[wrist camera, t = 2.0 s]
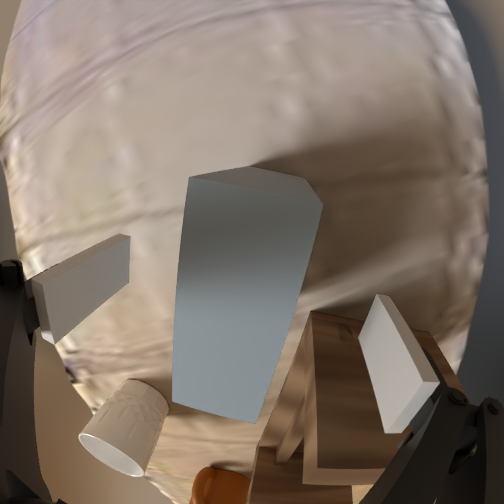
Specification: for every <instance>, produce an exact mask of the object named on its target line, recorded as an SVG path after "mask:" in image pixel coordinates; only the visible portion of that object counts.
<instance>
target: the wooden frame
mask: <svg viewBox="0 0 504 504" xmlns="http://www.w3.org/2000/svg"><path fill="white" fill-rule="evenodd" d="M364 323H365V322H364V321H359V320H353V319H348V318H343V317H338V316H333V315H328V314H323V313H318V312H313V311H310V314H309V317H308V320H307V323H306V326H305V329H304V332H303V334H302V337H301V340H300V343H299V346H298V348H297V351H296V354H295V356H294V359H293V362H292V364H291V367H290V370H289V372H288V375H287V377H286V380H285V382H284V385H283V387H282V390H281V392H280V395H279V397H278V400H277V402H276V404H275V407H274V409H273V411H272V414H271V416H270V418H269V421H268V423H267V425H266V428H265V430H264V432H263V434H262V437H261V439H260V441H259V443H258V445H257V448H256V454H255V460H254V465H253V471H252V476H251V482H250V487H249V492H248V497H247V502H246V504H353V501H352V485H370V484H375V483H376V481H377V480H378V479H379V477H380V476H381V475H382V473H383V472H384V470H385V469H386V468H387V466H388V465H389V463H390V462H391V460H392V459H393V457H394V456H395V454H396V453H397V451H398V450H399V448H397V446H398V445H399V444H400V443H401V442H402V441H403V440H404V439H405V438H406V437H407V435H408V434H409V433H410V432H411V431H412V429H411V426H410V423H409V424H408V426H407V427H406V428H405V429H404V430H403V432H402V433H385V432H384V428H383V424H382V419H381V415H380V411H379V408H378V404H377V400H376V396H375V393H374V389H373V385H372V382H371V378H370V375H369V371H368V368H367V365H366V361H365V358H364V355H363V351H362V348H361V345H360V342H359V339H358V337H359V335H360V332H361V330H362V328H363V326H364ZM411 332H412V333H413V335H414V337H415V338H416V340H417V342H418V344H419V345H420V347H423V348H424V349H425V350H426V351H427V352H429V353H430V355H431V356H432V358H433V360H434V363H436V365H437V367H438V369H439V370H440V372H441V374H442V376H443V378H444V379H445V381H446V383H447V385H448V387H452V388H456V389H458V390H460V391H461V392H462V393H464V394H465V392H464V390H463V388H462V386H461V385H460V383H459V381H458V379H457V377H456V375H455V374H454V372H453V370H452V368H451V367H450V365H449V363H448V362H447V360H446V358H445V356H444V355H443V353H442V352H441V350H440V348H439V347H438V345H437V343H436V342H435V340H434V339H433V337H432V335H431V334H430V332H423V331H417V330H411ZM465 396H466V397H467V395H466V394H465ZM467 399H468V398H467ZM468 401H469V399H468ZM469 404H471V403H470V401H469ZM475 451H476V449H475V450H474V451H473V454H474V453H475Z"/></svg>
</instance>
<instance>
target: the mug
mask: <svg viewBox="0 0 504 504" xmlns="http://www.w3.org/2000/svg"><path fill="white" fill-rule="evenodd" d="M249 487H250V480H249V479H248V478H246V477H244V476H242V475H240V474H237V473H234V472H230V471H225V470H219V469H214V468H212V467H205V468H203V469H202V470H201V471H200V472H199V473H198V474H197V476H196V478H195V480H194V483H193V488H192V497H191V500H190V503H189V504H246V502H247V497H248V492H249Z"/></svg>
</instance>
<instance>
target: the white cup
mask: <svg viewBox="0 0 504 504" xmlns="http://www.w3.org/2000/svg"><path fill="white" fill-rule="evenodd" d="M168 411H169V407H168V403H167V401H166V399H165V398H164V397H163V396H162V395H161V393H160V392H158V391H157V390H156V389H154V388H153V387H151V386H150V385H148V384H146V383H143V382H141V381H139V380H130V379H128V380H126V381H124V382H122V383H121V384H120V385H119V387H118V388H117V389H116V390H115V392H114V393H113V394H112V395H111V396H110V397H109V398H108V399H107V400H106V402H105V403H104V404H103V405H102V406H101V407H100V409H99V410H98V411H97V412H96V414H95V415H94V416H93V418H92V419H91V420H90V422H89V423H88V424H87V425H86V427H85V428H84V429H83V430H82V432H81V433H80V434H79V440H80V442H81V444H82V445H83V446H84V447H85V448H86V449H87V450H88V451H89V452H90V453H91V454H92V455H93V456H94V457H96V458H97V459H98V460H100V461H101V462H103V463H104V464H106V465H108V466H109V467H111V468H113V469H115V470H117V471H119V472H121V473H124V474H127V475H130V476H135V477H141V476H143V475H144V474H145V471H146V469H147V466H148V464H149V461H150V459H151V456H152V454H153V451H154V449H155V446H156V444H157V441H158V439H159V436H160V433H161V430H162V426H163V423H164V420H165V418H166V415H167V413H168Z"/></svg>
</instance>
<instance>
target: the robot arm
mask: <svg viewBox="0 0 504 504" xmlns="http://www.w3.org/2000/svg"><path fill="white" fill-rule="evenodd" d="M130 237H131V236H127V235H123V234H117V235H115V236H113V237H111V238H109V239H106V240H104V241H102V242H100V243H98V244H96V245H94V246H92V247H90V248H88V249H86V250H84V251H82V252H80V253H78V254H76V255H74V256H72V257H70V258H68V259H66V260H65V261H63V262H61V263H58V264H56V265H54V266H52V267H50V268H49V269H46V270H45V271H43V272H41V273H39V274H37V275H36V276H34V277H32V278H30V279H28V280H27V281H24V274H23V266H22V263H21V261H19V260H13V259H10V260H5V261H2V262H0V504H67V503H65V502H64V501H62V500H60V499H58V501H57V503H55V502H52V499H51V496H50V493H49V490H48V488H47V486H46V484H45V482H44V480H43V478H42V475H41V471H40V466H39V458H38V451H37V443H36V433H35V419H34V361H35V347H36V333H35V330H36V329H37V328H38V327H39V326H40V329H41V333H42V337H43V338H44V339H46V340H47V341H49V342H51V343H52V344H54V345H55V344H56V343H57V342H58V341H60V340H61V339H62V338H63V337H64V336H65V335H66V334H68V333H69V332H70V331H71V330H72V329H73V328H74V327H76V326H77V325H78V324H79V323H80V322H81V321H83V320H84V319H85V318H86V317H87V316H89V315H90V314H91V313H92V312H93V311H94V310H96V309H97V308H98V307H99V306H100V305H102V304H103V303H104V302H105V301H107V300H108V299H109V298H110V297H111V296H113V295H114V294H115V293H116V292H118V291H119V290H120V289H121V288H123V287H124V286H125V285H126V284H128V283H129V260H130ZM358 339H359V342H360V345H361V348H362V351H363V355H364V358H365V361H366V365H367V368H368V371H369V375H370V378H371V382H372V385H373V389H374V393H375V396H376V400H377V404H378V408H379V411H380V415H381V419H382V424H383V428H384V432H385V433H402V432H403V430H404V429H405V428H406V427H407V426H408V424H409V423H410V426H411V429H412V431H411V432H410V433H409V434H408V435H407V437H406V438H405V439H404V440H403V441H402V442H401V443H400V444H399V445H398V446H397V448H399V450H398V451H397V453H396V454H395V456H394V457H393V459H392V460H391V462H390V463H389V465H388V466H387V468H386V469H385V470H384V472H383V473H382V475H381V476H380V477H379V479H378V480H377V481H376V483H375V484H374V485H373V487H372V488H371V489H370V490H369V492H368V493H367V494H366V495H365V497H364V498H363V499H362V500H361V501H360V503H359V504H433V503H434V501H435V499H436V497H437V499H436V503H435V504H504V408H503V406H502V405H501V403H500V402H498V400H496V399H494V398H490V397H488V398H485V399H484V401H483V402H482V403H481V404H480V406H475V405H471V404H469V401H468V399H467V397H466V396H465V394H464V393H462V392H461V391H460V390H458V389H456V388H452V387H448V385H447V383H446V381H445V379H444V378H443V376H442V374H441V372H440V370H439V369H438V367H437V365H436V363H434V360H433V358H432V356H431V355H430V353H429V352H427V351H426V350H425V349H424V348H423V347H420V345H419V344H418V342H417V340H416V338H415V337H414V335H413V333H412V332H411V330H410V328H409V327H408V325H407V323H406V322H405V320H404V319H403V317H402V315H401V314H400V312H399V311H398V309H397V307H396V306H395V304H394V303H393V301H392V300H391V298H390V297H389V296H386V295H381V294H376V296H375V299H374V301H373V304H372V306H371V309H370V311H369V314H368V316H367V319H366V321H365V323H364V326H363V328H362V330H361V332H360V335H359V337H358ZM475 449H476V451H475V453H474V454H473V451H474V450H475Z"/></svg>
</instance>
